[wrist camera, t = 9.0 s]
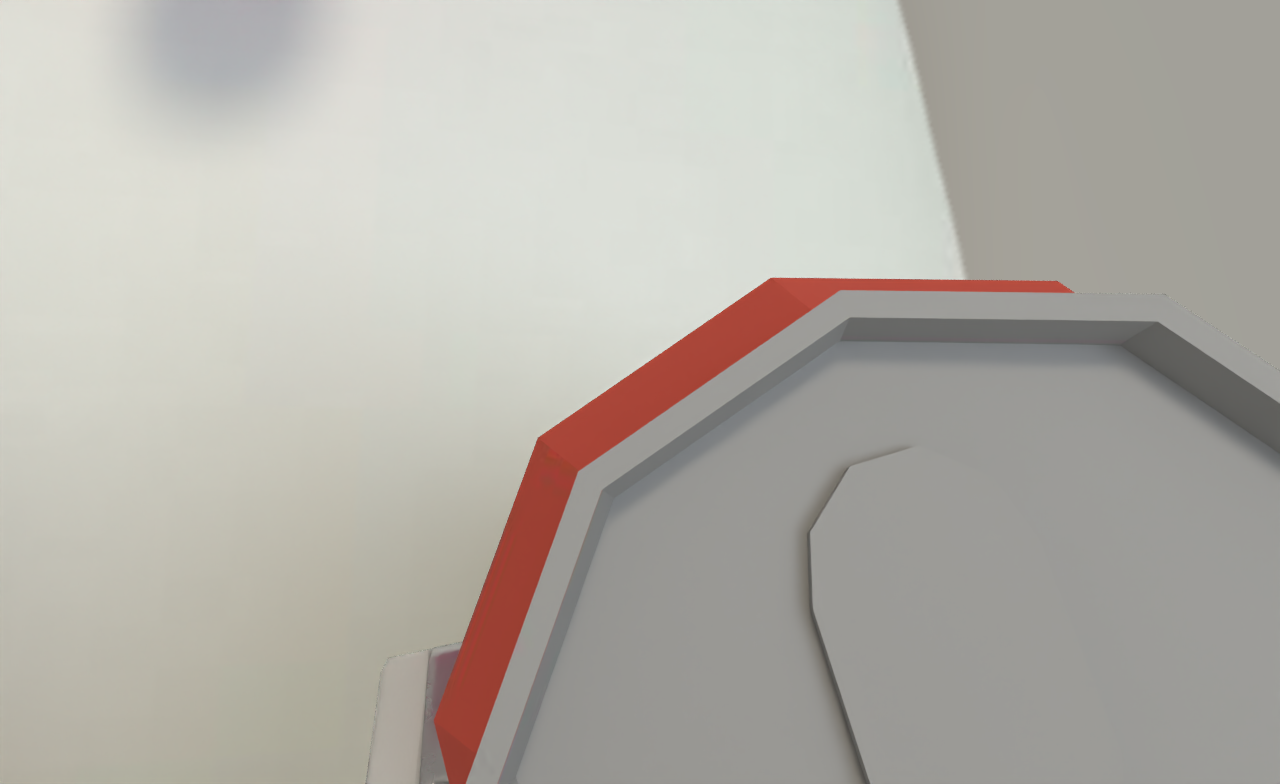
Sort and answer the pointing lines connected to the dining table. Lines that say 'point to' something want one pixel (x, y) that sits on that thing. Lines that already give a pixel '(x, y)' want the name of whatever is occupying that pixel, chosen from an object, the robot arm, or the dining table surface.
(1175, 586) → the beverage can
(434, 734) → the robot arm
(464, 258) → the dining table surface
